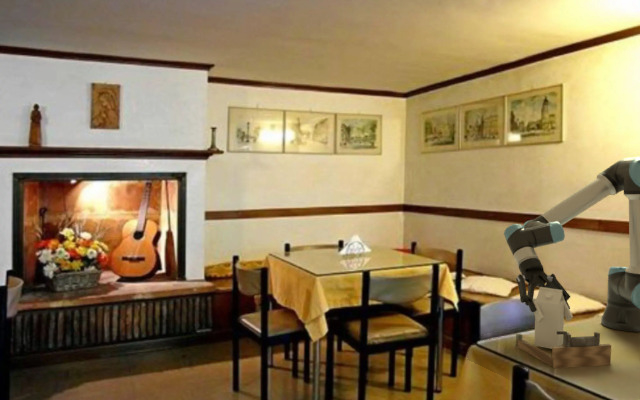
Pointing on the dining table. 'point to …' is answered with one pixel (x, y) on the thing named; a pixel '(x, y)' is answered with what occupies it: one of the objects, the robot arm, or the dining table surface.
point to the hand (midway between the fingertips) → (555, 319)
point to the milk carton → (549, 318)
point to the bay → (571, 351)
